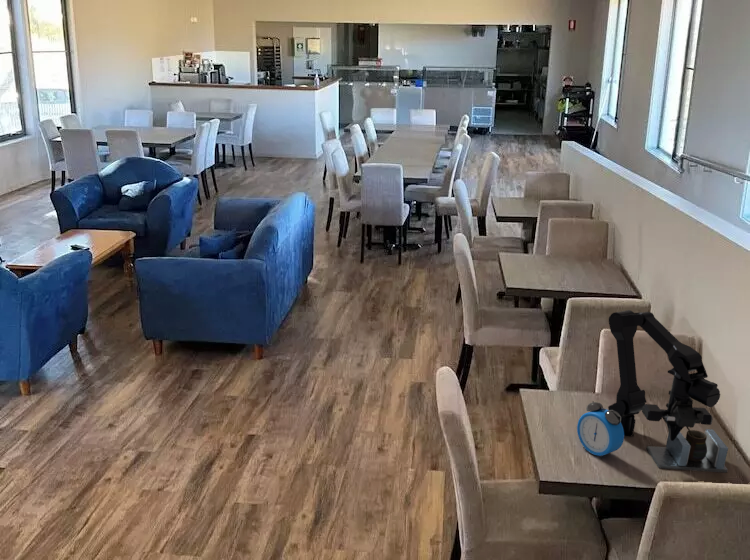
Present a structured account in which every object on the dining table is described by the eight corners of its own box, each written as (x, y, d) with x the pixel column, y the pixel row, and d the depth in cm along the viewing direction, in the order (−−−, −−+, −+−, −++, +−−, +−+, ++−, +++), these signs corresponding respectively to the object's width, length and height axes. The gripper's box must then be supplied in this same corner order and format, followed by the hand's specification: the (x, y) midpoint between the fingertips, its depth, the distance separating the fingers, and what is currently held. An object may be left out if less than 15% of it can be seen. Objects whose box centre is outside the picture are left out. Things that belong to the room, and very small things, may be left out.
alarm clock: (573, 444, 230) (580, 400, 225) (587, 439, 233) (593, 395, 229) (608, 464, 220) (615, 418, 215) (621, 459, 223) (629, 413, 219)
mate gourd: (703, 467, 219) (708, 436, 216) (676, 458, 223) (681, 428, 220) (707, 456, 225) (713, 426, 222) (681, 448, 229) (686, 419, 226)
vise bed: (658, 468, 219) (663, 444, 217) (646, 448, 230) (650, 425, 227) (727, 472, 219) (732, 448, 217) (712, 453, 230) (717, 429, 227)
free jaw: (678, 465, 219) (682, 445, 217) (665, 446, 229) (669, 426, 227) (687, 466, 219) (691, 445, 217) (674, 446, 229) (678, 427, 227)
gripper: (658, 402, 210) (648, 451, 215) (725, 407, 210) (714, 456, 215) (645, 385, 221) (637, 432, 226) (709, 389, 221) (699, 437, 225)
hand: (671, 440), depth 222 cm, fingers closed
